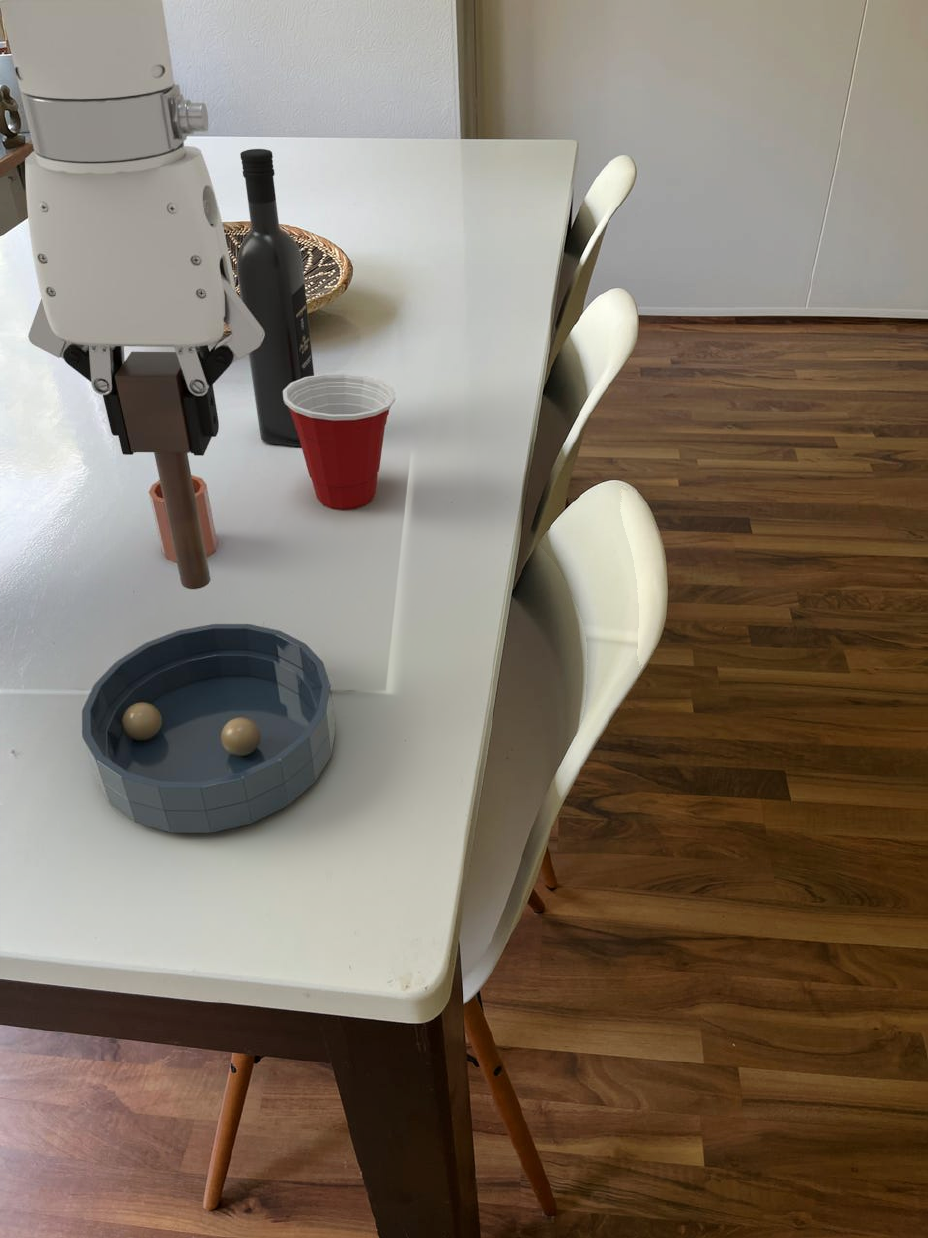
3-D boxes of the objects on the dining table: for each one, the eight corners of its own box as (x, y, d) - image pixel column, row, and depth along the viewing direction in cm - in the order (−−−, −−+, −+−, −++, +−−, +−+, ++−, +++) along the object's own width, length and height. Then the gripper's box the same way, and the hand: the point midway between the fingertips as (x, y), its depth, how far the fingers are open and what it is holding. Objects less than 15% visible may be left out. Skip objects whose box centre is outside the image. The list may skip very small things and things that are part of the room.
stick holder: (158, 567, 92) (143, 502, 88) (171, 537, 96) (157, 474, 92) (211, 567, 92) (199, 502, 88) (222, 537, 96) (210, 474, 92)
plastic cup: (422, 498, 102) (418, 389, 94) (340, 538, 96) (329, 426, 88) (355, 462, 108) (347, 357, 101) (274, 498, 102) (259, 389, 95)
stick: (163, 596, 67) (114, 375, 58) (176, 566, 70) (131, 351, 60) (216, 596, 67) (175, 376, 58) (226, 566, 70) (189, 351, 60)
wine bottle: (322, 426, 115) (294, 146, 96) (306, 449, 110) (273, 160, 92) (276, 421, 116) (239, 143, 97) (258, 444, 111) (216, 157, 93)
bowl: (65, 838, 67) (46, 787, 64) (135, 671, 80) (121, 623, 77) (319, 839, 66) (312, 788, 63) (346, 672, 80) (341, 623, 77)
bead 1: (157, 719, 71) (169, 739, 73) (151, 689, 73) (163, 710, 75) (119, 732, 71) (132, 753, 73) (113, 703, 72) (126, 723, 74)
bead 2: (210, 747, 72) (215, 721, 70) (238, 729, 74) (243, 703, 72) (237, 770, 71) (243, 744, 69) (265, 751, 73) (271, 726, 71)
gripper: (278, 112, 54) (308, 419, 65) (-25, 109, 54) (57, 416, 65) (253, 145, 48) (291, 476, 59) (-87, 141, 48) (15, 473, 59)
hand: (168, 442), depth 62 cm, fingers closed on stick, 3 cm apart
